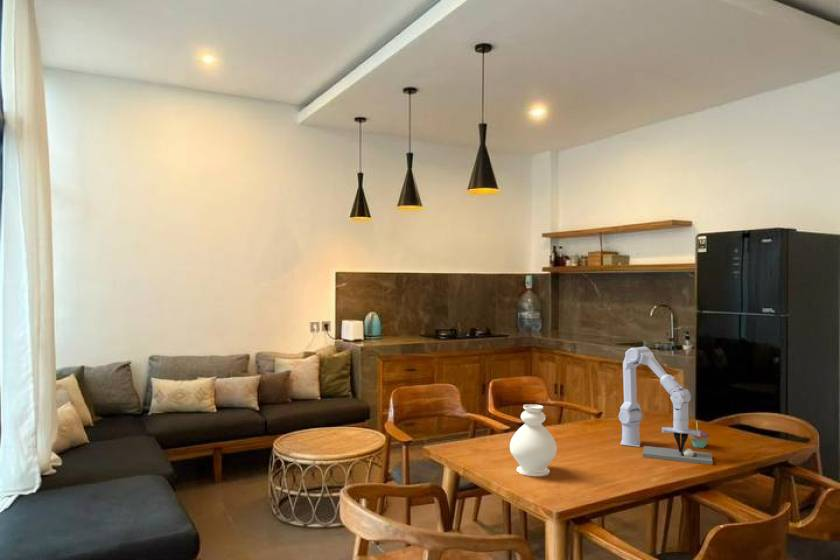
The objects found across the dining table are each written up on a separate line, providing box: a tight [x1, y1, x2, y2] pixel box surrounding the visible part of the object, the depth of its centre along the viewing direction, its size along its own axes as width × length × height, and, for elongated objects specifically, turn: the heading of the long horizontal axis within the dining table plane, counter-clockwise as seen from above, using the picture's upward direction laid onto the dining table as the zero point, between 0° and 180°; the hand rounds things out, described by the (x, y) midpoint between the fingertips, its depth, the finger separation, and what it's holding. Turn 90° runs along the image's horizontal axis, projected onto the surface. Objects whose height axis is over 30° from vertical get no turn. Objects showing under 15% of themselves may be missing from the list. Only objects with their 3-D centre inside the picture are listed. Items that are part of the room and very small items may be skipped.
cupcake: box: [688, 419, 710, 449], centre depth 259 cm, size 9×8×12 cm
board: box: [642, 445, 714, 466], centre depth 244 cm, size 12×26×2 cm, turn 67°
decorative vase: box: [509, 403, 558, 477], centre depth 226 cm, size 18×18×25 cm
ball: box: [682, 447, 694, 457], centre depth 243 cm, size 4×4×4 cm
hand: (680, 451), depth 244 cm, fingers closed
